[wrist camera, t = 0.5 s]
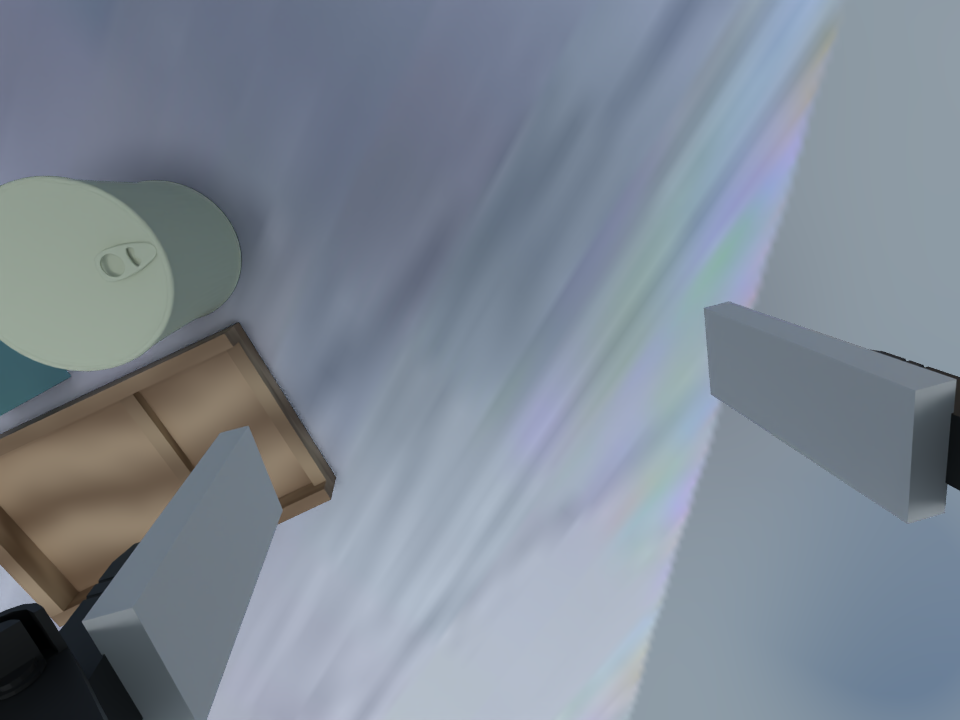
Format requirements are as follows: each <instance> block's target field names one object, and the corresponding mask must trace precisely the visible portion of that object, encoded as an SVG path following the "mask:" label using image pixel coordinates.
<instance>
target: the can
mask: <svg viewBox="0 0 960 720" xmlns="http://www.w3.org/2000/svg"><path fill="white" fill-rule="evenodd" d="M240 271H241V250H240V245H239V241H238V238H237V236H236V233H235V231H234V229H233V227H232V225H231V223H230V222H229V220H228V219H227V217H226V216H225V215H224V213H223V212H222V211H221V210H220V209H219V208H218V207H217V206H216V205H215V204H214V203H213V202H212V201H210V200H209V199H208V198H206V197H205V196H204V195H202V194H200V193H199V192H197V191H195V190H193V189H191V188H189V187H186V186H184V185H181V184H178V183H173V182H168V181H159V180H151V181H142V182H137V183H133V182H109V181H90V180H75V179H71V178H65V177H58V176H34V177H27V178H22V179H18V180H14V181H11V182H8V183H6V184H3V185H1V186H0V340H1V341H2V342H3V343H5V344H6V345H7V346H9V347H10V348H12V349H13V350H15V351H17V352H18V353H20V354H22V355H24V356H26V357H28V358H30V359H32V360H34V361H37V362H40V363H42V364H45V365H48V366H52V367H55V368H60V369H66V370H73V371H97V370H104V369H109V368H114V367H117V366H120V365H123V364H125V363H128V362H130V361H132V360H134V359H136V358H138V357H139V356H141V355H142V354H144V353H145V352H146V351H147V350H149V349H150V348H151V347H152V346H153V345H154V344H156V343H158V342H159V341H161V340H162V339H164V338H165V337H167V336H168V335H170V334H172V333H173V332H175V331H176V330H178V329H180V328H181V327H183V326H185V325H186V324H188V323H190V322H191V321H193V320H194V319H197V318H200V317H203V316H205V315H207V314H209V313H211V312H213V311H215V310H216V309H217V308H219V307H220V306H221V305H222V304H223V303H224V302H225V301H226V300H227V299H228V298H229V297H230V295H231V294H232V292H233V291H234V289H235V287H236V285H237V282H238V279H239V276H240Z"/></svg>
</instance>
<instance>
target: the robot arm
mask: <svg viewBox="0 0 960 720" xmlns="http://www.w3.org/2000/svg"><path fill="white" fill-rule="evenodd" d="M704 315H705V327H706V340H707V352H708V365H709V377H710V390H711V395H713V396H714V397H716V398H717V399H719V400H720V401H722V402H723V403H725V404H726V405H728V406H729V407H731V408H732V409H734V410H735V411H737V412H738V413H740V414H741V415H743V416H744V417H746V418H747V419H749V420H751V421H752V422H753V423H755V424H757V425H758V426H760V427H761V428H763V429H764V430H766V431H767V432H769V433H770V434H772V435H773V436H775V437H776V438H778V439H779V440H781V441H782V442H784V443H785V444H787V445H788V446H790V447H791V448H793V449H794V450H796V451H798V452H799V453H801V454H802V455H804V456H805V457H807V458H808V459H810V460H811V461H813V462H814V463H816V464H817V465H819V466H820V467H822V468H823V469H825V470H826V471H828V472H829V473H831V474H832V475H834V476H836V477H837V478H838V479H840V480H841V481H843V482H844V483H846V484H848V485H849V486H851V487H852V488H854V489H855V490H857V491H858V492H860V493H861V494H863V495H864V496H866V497H867V498H869V499H870V500H872V501H873V502H875V503H876V504H878V505H879V506H881V507H882V508H884V509H885V510H887V511H889V512H890V513H892V514H893V515H895V516H897V517H898V518H899V519H901V520H902V521H904V522H905V523H907V524H909V523H912V522H916V521H919V520H923V519H926V518H929V517H933V516H936V515H939V514H943V513H945V505H946V494H947V484H949V485H950V486H952V487H954V488H956V489H958V490H960V377H958V376H955V375H951V374H949V373H946V372H943V371H940V370H937V369H934V368H931V367H924V366H923V365H921V364H919V363H916V362H913V361H906V360H905V359H904V358H901V357H898V356H895V355H892V354H889V353H886V352H883V351H875V350H869V349H866V348H863V347H861V346H858V345H855V344H852V343H849V342H846V341H843V340H840V339H837V338H834V337H831V336H828V335H825V334H822V333H820V332H817V331H814V330H810V329H808V328H805V327H802V326H799V325H796V324H793V323H790V322H787V321H784V320H781V319H779V318H776V317H773V316H770V315H767V314H764V313H761V312H758V311H755V310H752V309H749V308H746V307H743V306H740V305H738V304H735V303H732V302H725V303H721V304H718V305H714V306H710V307H706V308H704ZM282 511H283V509H282V507H281V504H280V502H279V500H278V497H277V495H276V492H275V490H274V487H273V485H272V482H271V480H270V477H269V475H268V472H267V470H266V467H265V465H264V463H263V460H262V458H261V455H260V453H259V450H258V448H257V445H256V443H255V440H254V438H253V435H252V433H251V431H250V428H249V426H245V427H241V428H237V429H233V430H230V431H226V432H222V433H220V434H219V435H218V437H217V438H216V439H215V441H214V442H213V443H212V445H211V446H210V448H209V449H208V450H207V452H206V453H205V454H204V456H203V457H202V458H201V460H200V461H199V462H198V464H197V465H196V467H195V468H194V469H193V471H192V472H191V473H190V475H189V476H188V477H187V479H186V480H185V482H184V483H183V484H182V486H181V487H180V488H179V490H178V491H177V492H176V494H175V495H174V497H173V498H172V499H171V501H170V502H169V503H168V505H167V506H166V507H165V509H164V510H163V512H162V513H161V514H160V516H159V517H158V518H157V520H156V521H155V522H154V524H153V525H152V527H151V528H150V529H149V531H148V532H147V533H146V535H145V536H144V537H143V539H142V540H141V542H138V543H135V544H133V545H132V546H131V547H130V548H129V549H127V550H126V551H125V552H124V553H123V554H122V555H120V556H119V557H118V558H117V559H116V560H114V561H113V562H112V563H111V565H110V566H109V567H108V569H107V570H106V571H105V573H104V574H103V575H102V576H101V578H100V579H99V580H98V584H95V586H94V587H93V588H92V589H91V591H90V592H89V593H88V595H87V596H86V597H87V599H86V600H83V601H82V602H81V604H80V605H79V606H78V608H77V609H76V610H75V612H74V613H73V614H72V615H71V617H70V618H69V619H68V621H67V622H66V623H65V625H64V626H63V627H62V628H61V630H60V631H58V630H57V628H56V626H55V625H54V623H53V622H52V620H51V618H50V617H49V615H48V614H47V612H46V610H45V609H44V607H42V606H41V605H39V604H37V603H32V604H23V605H20V606H17V607H14V608H11V609H8V610H5V611H3V612H1V613H0V720H207V717H208V715H209V712H210V709H211V706H212V704H213V701H214V698H215V695H216V693H217V690H218V687H219V684H220V682H221V679H222V676H223V673H224V671H225V668H226V665H227V662H228V659H229V657H230V654H231V651H232V648H233V646H234V643H235V640H236V637H237V635H238V632H239V629H240V626H241V624H242V621H243V618H244V615H245V613H246V610H247V607H248V604H249V602H250V599H251V596H252V593H253V591H254V588H255V585H256V582H257V580H258V577H259V574H260V571H261V569H262V566H263V563H264V560H265V558H266V555H267V552H268V549H269V547H270V544H271V541H272V538H273V535H274V533H275V530H276V527H277V524H278V522H279V519H280V516H281V513H282Z"/></svg>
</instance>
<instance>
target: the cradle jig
mask: <svg viewBox="0 0 960 720" xmlns="http://www.w3.org/2000/svg"><path fill="white" fill-rule="evenodd" d="M245 426H249V428H250V431H251V433H252V435H253V438H254V440H255V443H256V445H257V448H258V450H259V453H260V455H261V458H262V460H263V463H264V465H265V467H266V470H267V472H268V475H269V477H270V480H271V482H272V485H273V487H274V490H275V492H276V495H277V497H278V500H279V502H280V504H281V507H282V509H283V511H282V513H281V516H280V519H279V522H278V524H280V523H282V522H284V521H286V520H288V519H290V518H293V517H295V516H297V515H299V514H301V513H303V512H305V511H307V510H310V509H312V508H314V507H316V506H318V505H320V504H322V503H324V502H327V501H329V500H331V497H332V492H333V488H334V484H335V479H336V477H335V475H334V474H333V472H332V470H331V469H330V467H329V466H328V464H327V463H326V461H325V459H324V458H323V456H322V455H321V453H320V451H319V450H318V448H317V447H316V445H315V443H314V442H313V440H312V439H311V437H310V435H309V434H308V432H307V431H306V429H305V427H304V426H303V424H302V423H301V421H300V419H299V418H298V416H297V415H296V413H295V411H294V410H293V408H292V407H291V405H290V403H289V402H288V400H287V399H286V397H285V395H284V394H283V392H282V391H281V389H280V387H279V386H278V384H277V383H276V381H275V380H274V378H273V376H272V375H271V373H270V372H269V370H268V368H267V367H266V365H265V364H264V362H263V360H262V359H261V357H260V356H259V354H258V352H257V351H256V349H255V348H254V346H253V344H252V343H251V341H250V340H249V338H248V336H247V335H246V333H245V332H244V330H243V328H242V327H241V325H240V324H239V322H238V323H236V324H234V325H232V326H230V327H228V328H226V329H223V330H221V331H219V332H217V333H215V334H213V335H211V336H209V337H206V338H204V339H202V340H200V341H198V342H196V343H194V344H192V345H189V346H187V347H185V348H183V349H181V350H179V351H177V352H174V353H172V354H170V355H168V356H166V357H164V358H162V359H160V360H157V361H155V362H153V363H151V364H149V365H147V366H145V367H143V368H140V369H138V370H136V371H134V372H132V373H130V374H128V375H126V376H123V377H121V378H119V379H117V380H115V381H113V382H111V383H109V384H106V385H104V386H102V387H100V388H98V389H96V390H94V391H91V392H89V393H87V394H85V395H83V396H81V397H79V398H77V399H74V400H72V401H70V402H68V403H66V404H64V405H62V406H60V407H57V408H55V409H53V410H51V411H49V412H47V413H45V414H43V415H40V416H38V417H36V418H34V419H32V420H30V421H28V422H26V423H23V424H21V425H19V426H17V427H15V428H13V429H11V430H8V431H6V432H4V433H2V434H0V565H1V566H2V567H3V568H4V569H5V570H6V571H7V572H8V573H9V574H10V575H11V576H12V577H13V578H14V579H15V581H16V582H17V583H18V584H19V585H20V586H21V587H22V588H23V589H24V590H25V591H26V592H27V593H28V594H29V595H30V596H31V597H32V598H33V599H34V600H35V601H36V602H37V604H39V605H41V606H42V607H44V609H45V610H46V612H47V614H48V615H49V616H50V617H51V618H52V619H53V620H54V621H55V622H56V623H57V624H58V625H59V627H61V626H63V625H65V623H66V622H67V621H68V619H69V618H70V617H71V615H72V614H73V613H74V612H75V610H76V609H77V608H78V606H79V605H80V604H81V602H82V601H83V600H86V599H87V597H86V596H87V595H88V593H89V592H90V591H91V589H92V588H93V587H94V586H95V584H98V580H99V579H100V578H101V576H102V575H103V574H104V573H105V571H106V570H107V569H108V567H109V566H110V565H111V563H112V562H113V561H114V560H116V559H117V558H118V557H119V556H120V555H122V554H123V553H124V552H125V551H126V550H127V549H129V548H130V547H131V546H132V545H133V544H135V543H138V542H141V540H142V539H143V537H144V536H145V535H146V533H147V532H148V531H149V529H150V528H151V527H152V525H153V524H154V522H155V521H156V520H157V518H158V517H159V516H160V514H161V513H162V512H163V510H164V509H165V507H166V506H167V505H168V503H169V502H170V501H171V499H172V498H173V497H174V495H175V494H176V492H177V491H178V490H179V488H180V487H181V486H182V484H183V483H184V482H185V480H186V479H187V477H188V476H189V475H190V473H191V472H192V471H193V469H194V468H195V467H196V465H197V464H198V462H199V461H200V460H201V458H202V457H203V456H204V454H205V453H206V452H207V450H208V449H209V448H210V446H211V445H212V443H213V442H214V441H215V439H216V438H217V437H218V435H219V434H220V433H222V432H226V431H230V430H233V429H237V428H241V427H245ZM278 524H277V525H278Z"/></svg>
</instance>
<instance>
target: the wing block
mask: <svg viewBox="0 0 960 720" xmlns="http://www.w3.org/2000/svg"><path fill="white" fill-rule="evenodd" d="M69 377H71V375H70V374H69V373H68V372H67V370H66V369H60V368H55V367H52V366H48V365H45V364H42V363H40V362H37V361H34V360H32V359H30V358H28V357H26V356H24V355H22V354H20V353H18V352H17V351H15V350H13V349H12V348H10V347H9V346H7V345H6V344H5V343H3V342H2V341H1V340H0V416H1V415H3V414H4V413H6V412H8V411H10V410H12V409H14V408H15V407H17V406H19V405H21V404H23V403H24V402H26V401H28V400H30V399H32V398H33V397H35V396H37V395H39V394H41V393H42V392H44V391H46V390H48V389H50V388H51V387H53V386H55V385H57V384H59V383H60V382H62V381H64V380H66V379H68V378H69Z"/></svg>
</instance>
